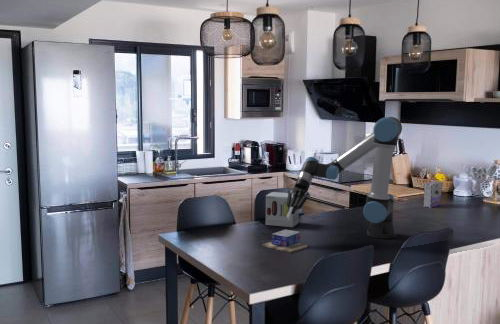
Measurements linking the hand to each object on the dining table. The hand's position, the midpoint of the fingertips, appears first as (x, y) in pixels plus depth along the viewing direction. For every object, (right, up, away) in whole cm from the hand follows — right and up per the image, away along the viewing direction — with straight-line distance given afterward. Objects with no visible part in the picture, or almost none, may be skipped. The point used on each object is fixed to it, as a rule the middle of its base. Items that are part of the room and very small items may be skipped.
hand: (288, 218), depth 263 cm
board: (-2, -14, -4) cm, 14 cm away
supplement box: (0, -8, +44) cm, 45 cm away
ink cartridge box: (+3, -9, +3) cm, 10 cm away
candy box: (+107, -2, +94) cm, 142 cm away
